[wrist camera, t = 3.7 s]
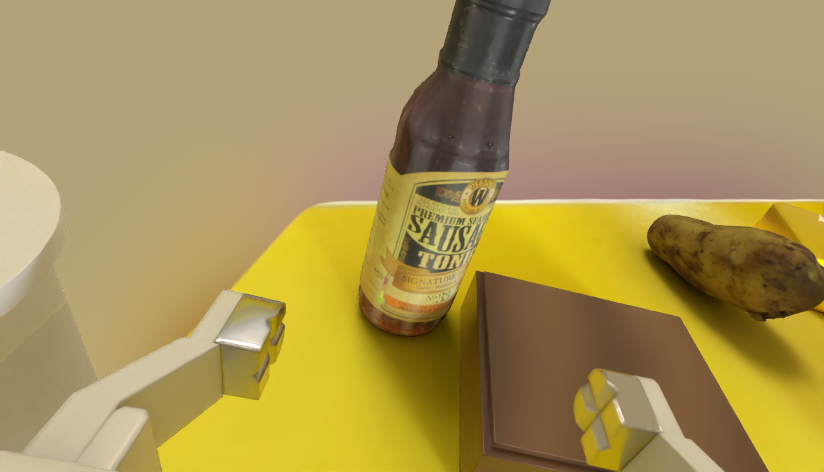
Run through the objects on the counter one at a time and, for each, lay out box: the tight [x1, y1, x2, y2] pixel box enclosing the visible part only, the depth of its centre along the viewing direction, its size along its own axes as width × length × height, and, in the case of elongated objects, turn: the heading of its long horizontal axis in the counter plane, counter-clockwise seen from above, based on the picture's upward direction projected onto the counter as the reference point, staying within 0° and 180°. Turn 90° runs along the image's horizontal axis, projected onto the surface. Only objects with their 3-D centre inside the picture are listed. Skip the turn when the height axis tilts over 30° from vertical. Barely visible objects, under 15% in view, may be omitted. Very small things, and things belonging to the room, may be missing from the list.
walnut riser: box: [460, 271, 769, 472], centre depth 23 cm, size 14×12×4 cm
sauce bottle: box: [359, 0, 551, 336], centre depth 23 cm, size 7×6×20 cm
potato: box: [647, 215, 824, 321], centre depth 35 cm, size 8×13×8 cm, turn 178°
